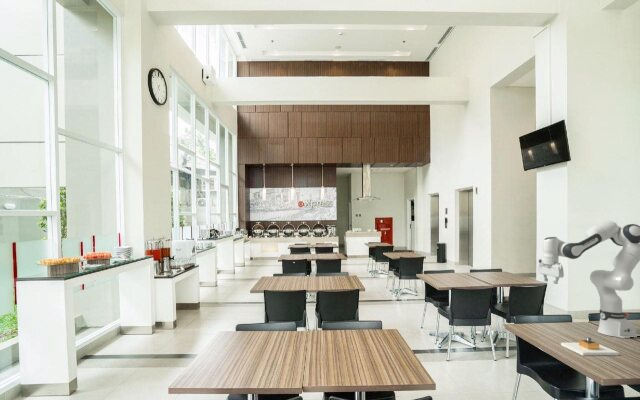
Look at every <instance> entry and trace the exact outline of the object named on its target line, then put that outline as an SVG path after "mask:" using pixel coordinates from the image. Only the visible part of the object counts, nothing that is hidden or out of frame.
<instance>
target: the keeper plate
mask: <svg viewBox="0 0 640 400" xmlns="http://www.w3.org/2000/svg"><path fill="white" fill-rule="evenodd" d="M586 340H587V343H591V340H592V338H591V337H586ZM560 345H561V346H562V347H564V348H565V349H568V350H570V351H572V352H575V353H577V354H579V355H581V356H586V357H587V356H619V355H620V352H619V351H617V350H614V349H611V348H609V347H606V346H604V345H601V344H599V349H586V348H584V347H582V346H579V342H560Z"/></svg>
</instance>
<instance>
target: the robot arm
mask: <svg viewBox="0 0 640 400" xmlns="http://www.w3.org/2000/svg"><path fill="white" fill-rule="evenodd" d="M585 236H586V238H584V239H581V240H580V241H577V242H565V241H563V240H561V239H559V238H558V237H557V236H548V237H546V238H544V240H543V242H542V243H543V244H542V251H543V255H542V258H540V259H537V262H538V263H537V265H538V268H537V270H538V273H539V274H541V275H542V277H543V281H544V282H549V278H548V277H549V276H550V277H553V278H554V280H553V284H555V285H558V284H559V283H558V282H559V280H560V278H562V279H563V278H564V276H565V273H564V267H563V265H562V264H561V262H559V257H563V258H567V259H571V260H577V259H578V258H580V257H581V256H582V255H583V254H584V253H585V252H586V251H588V250H590V249H591V248H593V247H596V246H598V244H600V243H602V242H605V241H608V240H611V242H612V243H613V244H615V245H616V246H619V247H622V248H621V250H620V251H619V252H618V253H617V254H616V256H615V257H614V259H612V266H613V267H614V269H613V270H606V269H597V270H593V271H591V272H590V275H589V280H590V282H591V283H592V284H593V286H594V287H595V288H596V290H597V292H598V293H597V294H598V296H599V302H600V303H599V307H600V308H599V324H598V327H597V328H598V329H597V333H599V334H602V335H604V336H605V335H606V336H608V337H611V336H612V337H615V338H620V339H630V337H634V338H638V337H637V336H640V333H638V332H637V329H636V326H635V324H633V323H632V322H630V321H629V320H628V319H627V318H628V317H629V316H630V314H629V313H627V312H623V300H622V297H620V296H619V295H618V293H617V292H616V291H620V292H621V291H622V292H623V291H624V292H625V291H626V292H627V291H630V290H631V289H632V288H633V286H634V285H635V284H634V279H633V278H632V273H633V270H634V269H635V268H636V267H637V265H638V264H639V262H640V225H638V224H636V223H630V224H625V226H622V227H621V226H619V225H618V224H617V223H616V222H615V221H612V220H606V221H603V222H599V223H597V224H595V225H593V226H591V227H589V228H588V229H587V230H586V231H585ZM626 317H627V318H626Z"/></svg>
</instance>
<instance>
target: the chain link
mask: <svg viewBox="0 0 640 400" xmlns="http://www.w3.org/2000/svg"><path fill="white" fill-rule="evenodd" d="M578 343H579V346H582V347H584V348H586V349H599V345H600V343H599V342H597V341H594V340H592V339H591V343H587V339H579V340H578Z"/></svg>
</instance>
